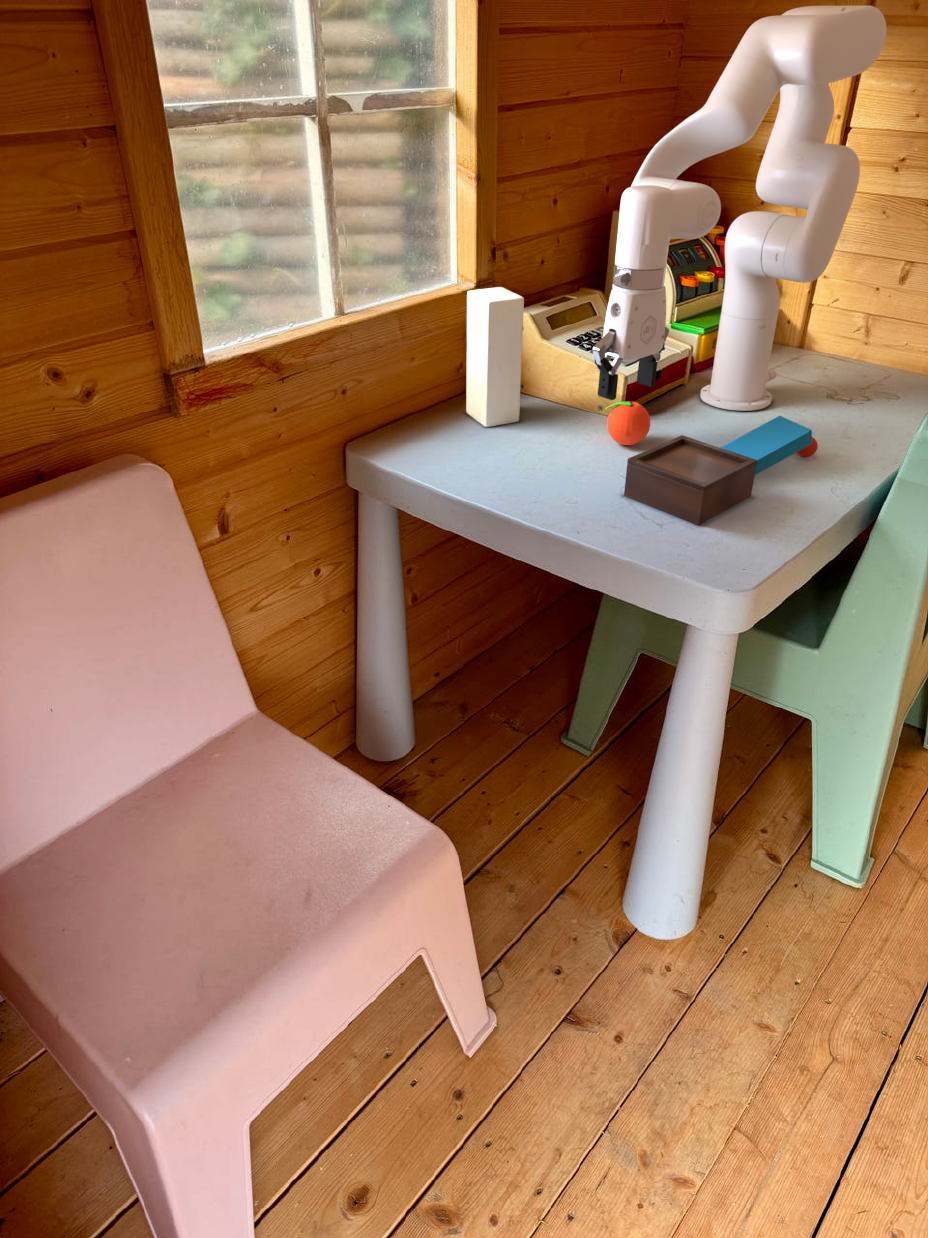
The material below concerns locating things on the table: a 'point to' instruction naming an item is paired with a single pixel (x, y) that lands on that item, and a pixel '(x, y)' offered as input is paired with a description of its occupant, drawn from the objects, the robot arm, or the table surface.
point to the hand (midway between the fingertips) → (626, 391)
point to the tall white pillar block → (494, 355)
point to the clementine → (628, 423)
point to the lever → (774, 443)
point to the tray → (690, 479)
